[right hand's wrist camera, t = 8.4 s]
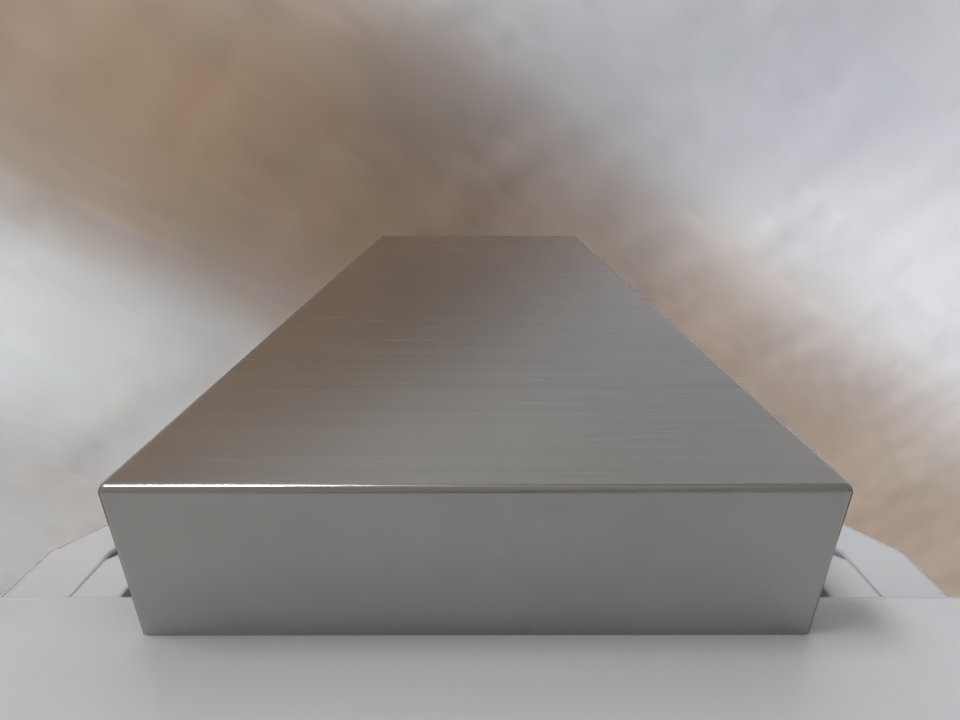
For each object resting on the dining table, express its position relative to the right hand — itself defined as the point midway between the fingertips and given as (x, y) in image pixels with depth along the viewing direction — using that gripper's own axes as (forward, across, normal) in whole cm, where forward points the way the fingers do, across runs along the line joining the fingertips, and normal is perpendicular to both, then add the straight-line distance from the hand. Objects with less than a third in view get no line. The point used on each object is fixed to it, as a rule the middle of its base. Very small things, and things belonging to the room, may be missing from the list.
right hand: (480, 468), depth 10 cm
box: (+8, 0, -9) cm, 12 cm away
